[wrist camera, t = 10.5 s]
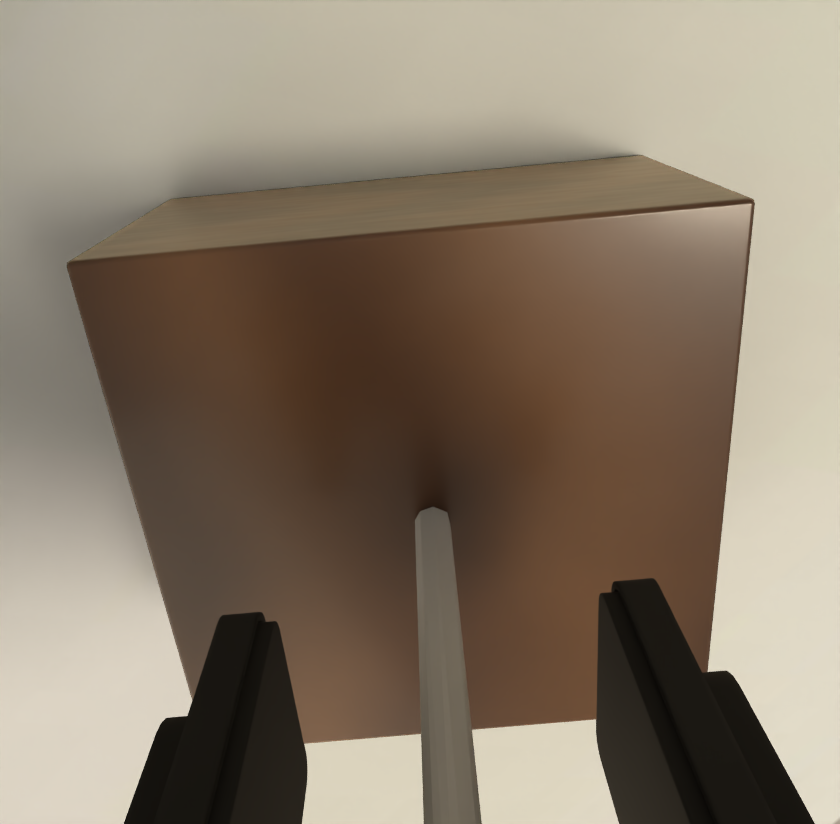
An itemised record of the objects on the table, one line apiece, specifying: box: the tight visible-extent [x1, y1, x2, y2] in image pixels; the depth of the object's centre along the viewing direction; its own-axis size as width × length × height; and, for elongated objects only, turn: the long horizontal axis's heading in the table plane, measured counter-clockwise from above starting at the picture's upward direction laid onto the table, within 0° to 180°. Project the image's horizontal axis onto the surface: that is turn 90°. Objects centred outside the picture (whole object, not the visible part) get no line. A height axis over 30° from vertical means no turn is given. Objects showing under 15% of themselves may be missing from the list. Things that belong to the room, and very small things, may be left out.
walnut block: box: [67, 155, 755, 744], centre depth 17 cm, size 11×11×6 cm
